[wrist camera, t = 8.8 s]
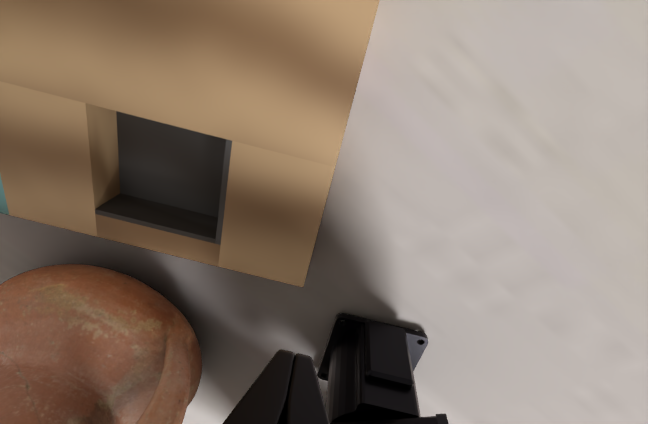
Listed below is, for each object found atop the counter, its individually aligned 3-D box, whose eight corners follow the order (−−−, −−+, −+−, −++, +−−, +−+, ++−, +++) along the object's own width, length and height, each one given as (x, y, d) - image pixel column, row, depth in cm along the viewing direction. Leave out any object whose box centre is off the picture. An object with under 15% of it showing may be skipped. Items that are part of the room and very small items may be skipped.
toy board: (308, 262, 22) (300, 301, 18) (-66, 169, 21) (-145, 192, 18) (453, -287, 11) (493, -423, 8) (-278, -502, 11) (-563, -747, 7)
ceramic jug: (84, 397, 30) (-105, 650, 18) (-32, 269, 24) (-442, 515, 12) (269, 370, 27) (201, 657, 15) (190, 214, 21) (-47, 474, 8)
